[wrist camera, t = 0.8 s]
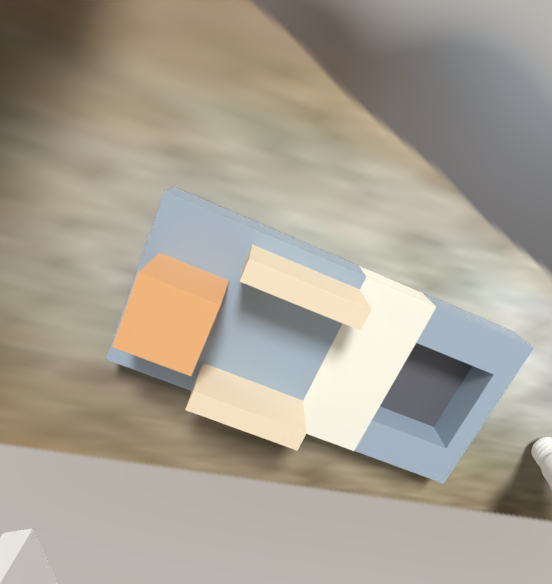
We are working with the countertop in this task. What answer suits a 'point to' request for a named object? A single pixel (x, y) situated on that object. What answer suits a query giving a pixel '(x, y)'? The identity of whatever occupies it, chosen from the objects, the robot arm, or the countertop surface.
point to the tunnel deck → (320, 342)
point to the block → (170, 313)
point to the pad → (365, 362)
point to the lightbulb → (544, 457)
